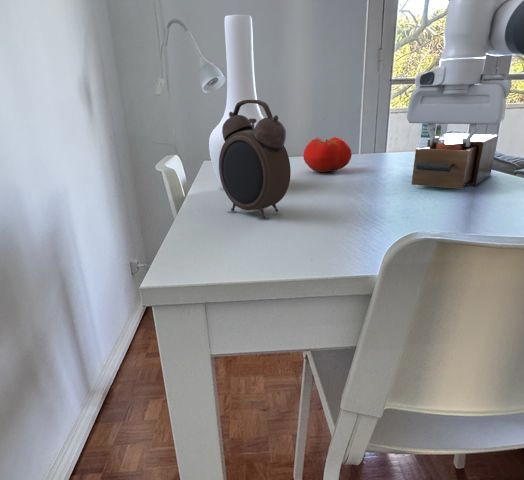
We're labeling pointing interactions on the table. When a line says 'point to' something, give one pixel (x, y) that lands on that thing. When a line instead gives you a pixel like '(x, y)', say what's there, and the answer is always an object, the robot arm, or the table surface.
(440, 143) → the brown round bowl
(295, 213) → the table surface
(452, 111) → the robot arm
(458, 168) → the drawer
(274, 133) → the alarm clock
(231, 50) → the vase
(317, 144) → the tomato
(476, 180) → the cabinet
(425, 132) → the syrup box
